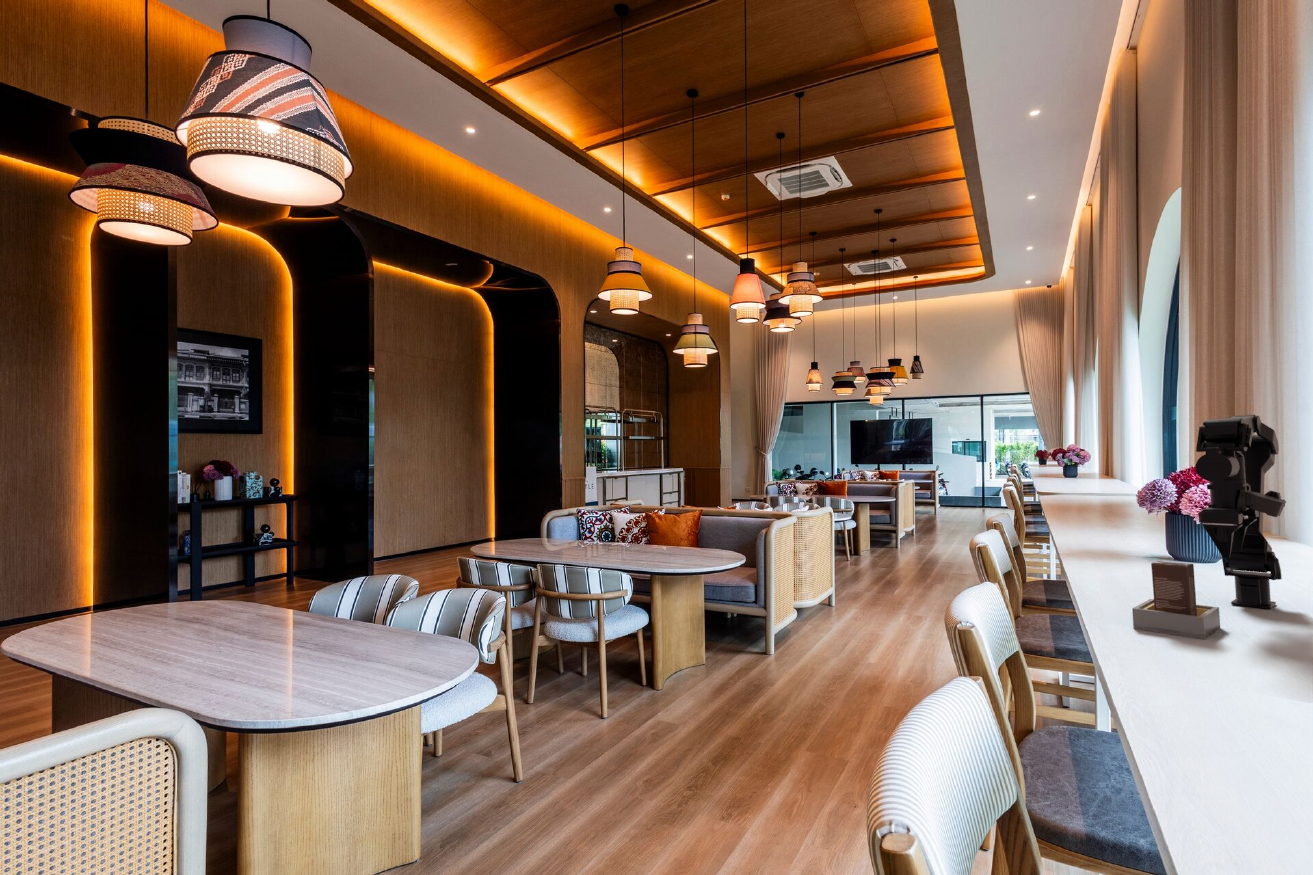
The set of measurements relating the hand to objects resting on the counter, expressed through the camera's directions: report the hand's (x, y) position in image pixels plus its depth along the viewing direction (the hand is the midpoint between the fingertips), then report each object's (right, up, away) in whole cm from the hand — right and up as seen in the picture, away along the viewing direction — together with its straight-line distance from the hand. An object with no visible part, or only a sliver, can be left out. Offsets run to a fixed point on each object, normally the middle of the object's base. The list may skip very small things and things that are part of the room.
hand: (1231, 554), depth 136 cm
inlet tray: (-16, -14, -5) cm, 21 cm away
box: (-16, -13, -5) cm, 21 cm away
